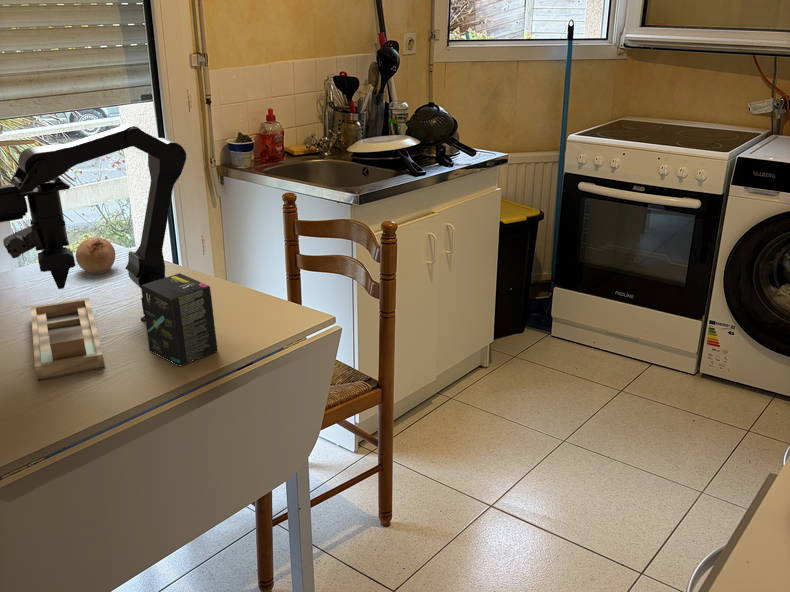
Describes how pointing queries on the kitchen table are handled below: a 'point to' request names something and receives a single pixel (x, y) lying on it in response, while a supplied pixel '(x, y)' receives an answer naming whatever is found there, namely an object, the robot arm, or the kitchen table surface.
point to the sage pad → (47, 355)
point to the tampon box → (179, 318)
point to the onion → (95, 255)
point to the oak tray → (63, 318)
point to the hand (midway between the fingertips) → (61, 288)
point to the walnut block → (67, 343)
